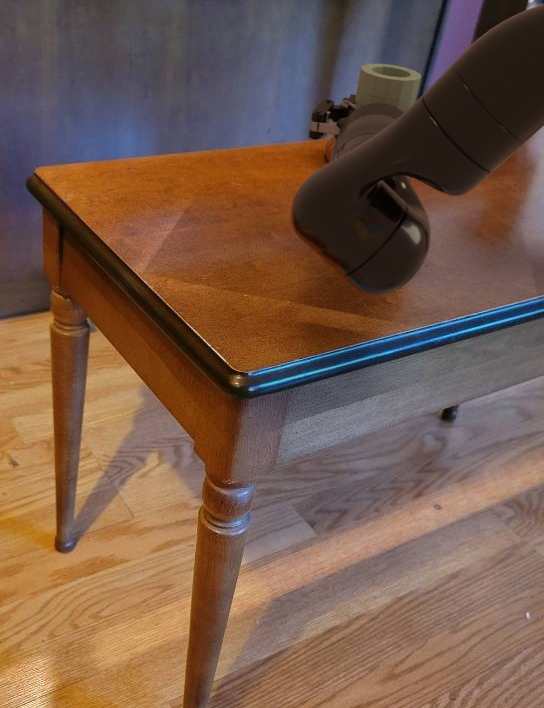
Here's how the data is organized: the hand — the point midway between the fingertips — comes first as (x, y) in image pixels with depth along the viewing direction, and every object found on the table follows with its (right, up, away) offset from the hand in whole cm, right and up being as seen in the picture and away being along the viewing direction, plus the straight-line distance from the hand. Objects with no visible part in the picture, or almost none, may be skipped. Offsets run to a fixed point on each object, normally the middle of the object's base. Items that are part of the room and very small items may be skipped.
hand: (382, 109), depth 81 cm
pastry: (0, +2, +25) cm, 25 cm away
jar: (-1, -7, +2) cm, 7 cm away
